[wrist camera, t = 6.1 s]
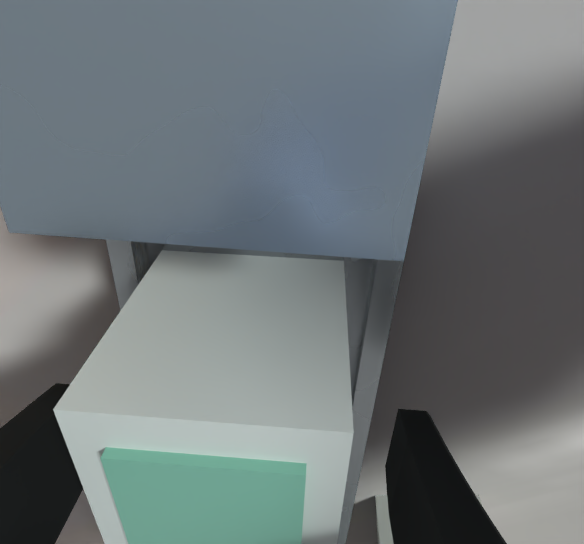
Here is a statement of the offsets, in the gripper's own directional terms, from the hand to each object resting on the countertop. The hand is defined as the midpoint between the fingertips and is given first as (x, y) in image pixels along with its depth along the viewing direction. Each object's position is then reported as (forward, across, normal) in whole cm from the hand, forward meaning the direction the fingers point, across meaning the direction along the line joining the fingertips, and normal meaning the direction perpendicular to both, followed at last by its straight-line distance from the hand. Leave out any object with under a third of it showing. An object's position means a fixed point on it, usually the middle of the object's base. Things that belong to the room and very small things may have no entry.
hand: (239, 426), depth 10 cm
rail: (+4, 0, 0) cm, 4 cm away
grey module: (+3, 0, 0) cm, 3 cm away
